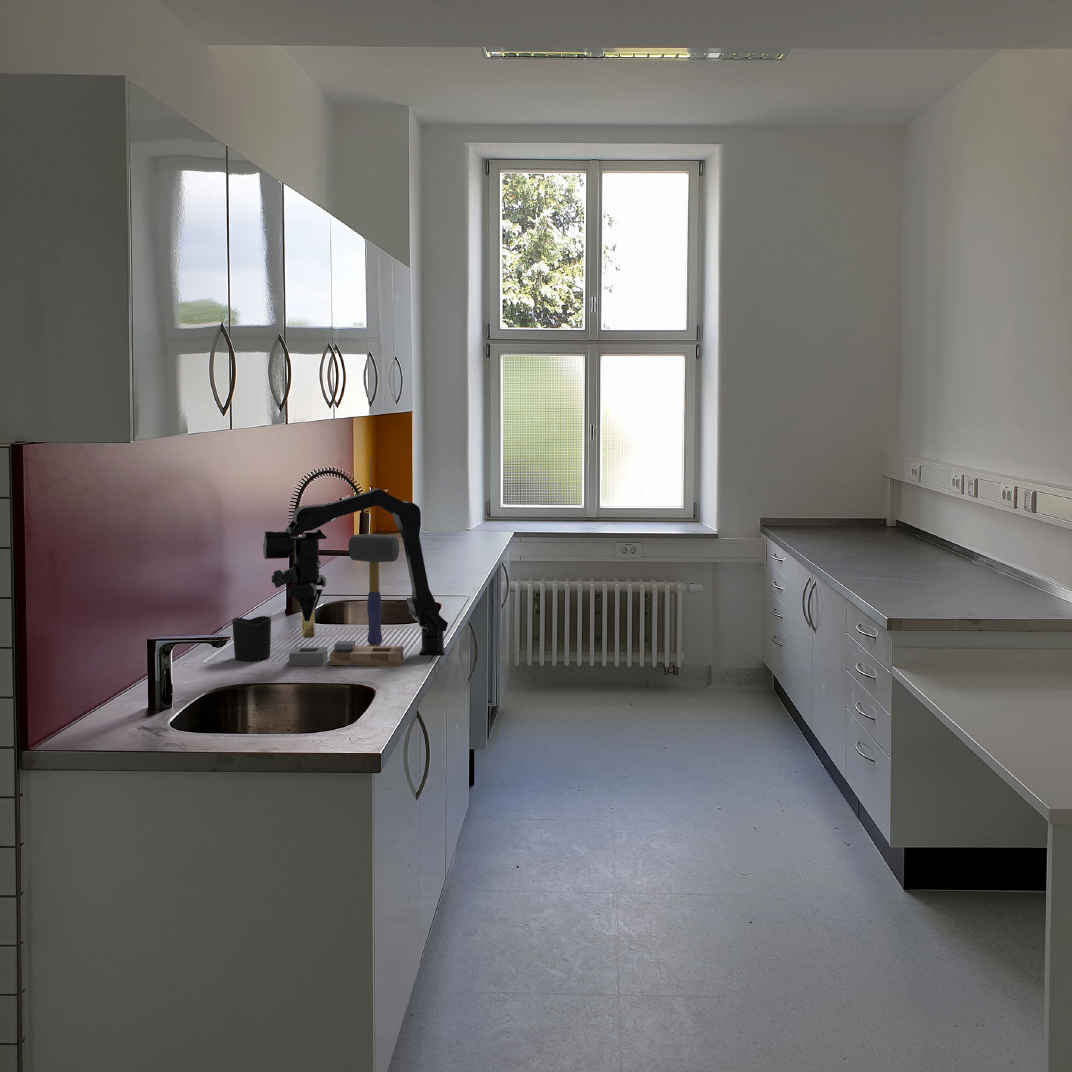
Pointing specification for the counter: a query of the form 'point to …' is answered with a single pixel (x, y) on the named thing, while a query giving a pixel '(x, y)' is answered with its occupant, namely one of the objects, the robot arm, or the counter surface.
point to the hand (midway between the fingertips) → (308, 620)
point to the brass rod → (308, 627)
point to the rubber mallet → (374, 573)
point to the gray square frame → (308, 656)
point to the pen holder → (252, 638)
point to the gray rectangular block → (344, 645)
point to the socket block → (368, 656)
